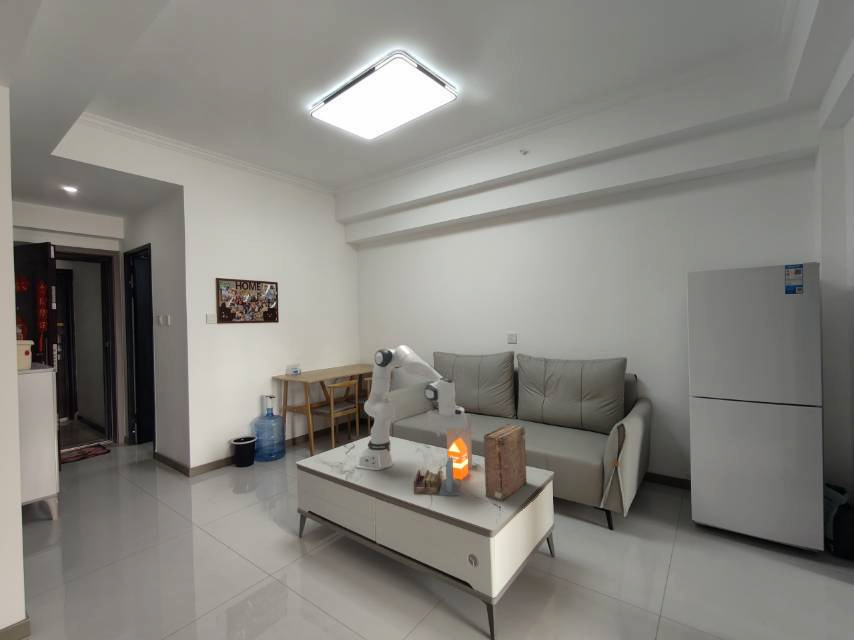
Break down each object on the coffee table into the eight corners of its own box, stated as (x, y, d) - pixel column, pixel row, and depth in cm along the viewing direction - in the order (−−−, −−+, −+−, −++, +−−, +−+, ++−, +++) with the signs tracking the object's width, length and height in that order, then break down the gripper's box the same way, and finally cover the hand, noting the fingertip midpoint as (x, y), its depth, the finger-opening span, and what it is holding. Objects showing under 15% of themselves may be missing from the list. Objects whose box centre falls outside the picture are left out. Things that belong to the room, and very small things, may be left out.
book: (510, 478, 211) (509, 423, 210) (526, 483, 205) (524, 426, 204) (485, 496, 192) (483, 435, 191) (502, 501, 186) (500, 438, 185)
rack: (413, 493, 197) (413, 481, 197) (419, 480, 213) (418, 469, 213) (437, 494, 195) (436, 482, 195) (440, 480, 211) (440, 469, 211)
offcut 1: (426, 491, 199) (426, 480, 199) (429, 483, 209) (428, 472, 209) (430, 491, 199) (429, 480, 199) (433, 483, 209) (432, 472, 209)
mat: (438, 495, 194) (438, 494, 194) (442, 480, 212) (442, 479, 212) (458, 496, 193) (458, 494, 193) (461, 480, 211) (461, 479, 211)
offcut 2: (431, 491, 199) (430, 480, 199) (433, 483, 208) (433, 473, 208) (434, 491, 199) (434, 480, 199) (437, 483, 208) (436, 473, 208)
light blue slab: (446, 491, 197) (445, 465, 197) (449, 481, 209) (448, 457, 209) (451, 491, 196) (450, 466, 196) (453, 481, 208) (452, 457, 208)
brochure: (472, 464, 233) (470, 414, 232) (472, 468, 227) (470, 416, 227) (448, 464, 234) (446, 414, 234) (447, 468, 229) (446, 416, 228)
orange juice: (468, 473, 220) (467, 438, 219) (461, 479, 212) (460, 442, 212) (455, 471, 224) (454, 436, 223) (448, 477, 216) (447, 441, 216)
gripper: (426, 411, 200) (427, 438, 200) (466, 411, 197) (467, 438, 197) (428, 408, 206) (429, 434, 206) (467, 408, 203) (468, 435, 203)
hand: (448, 436), depth 202 cm, fingers open, 8 cm apart
